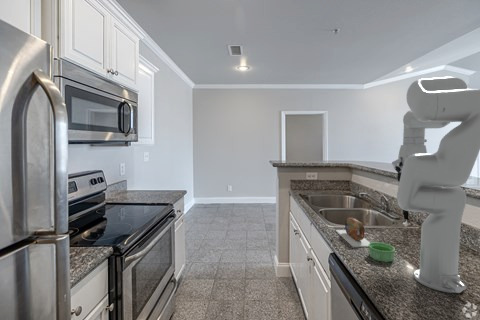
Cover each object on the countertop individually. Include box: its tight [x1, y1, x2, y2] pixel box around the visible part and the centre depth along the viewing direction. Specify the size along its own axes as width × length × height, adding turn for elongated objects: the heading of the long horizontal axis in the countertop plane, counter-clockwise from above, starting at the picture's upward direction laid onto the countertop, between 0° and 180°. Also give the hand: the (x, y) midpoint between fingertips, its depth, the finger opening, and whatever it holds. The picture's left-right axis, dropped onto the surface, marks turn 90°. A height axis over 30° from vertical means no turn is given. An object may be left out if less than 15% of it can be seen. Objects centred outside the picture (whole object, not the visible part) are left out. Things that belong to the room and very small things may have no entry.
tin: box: [344, 216, 365, 240], centre depth 119 cm, size 15×3×8 cm, turn 0°
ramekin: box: [368, 241, 396, 263], centre depth 99 cm, size 9×9×4 cm
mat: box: [335, 229, 371, 248], centre depth 119 cm, size 20×9×1 cm, turn 0°
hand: (411, 181), depth 110 cm, fingers open, 9 cm apart
